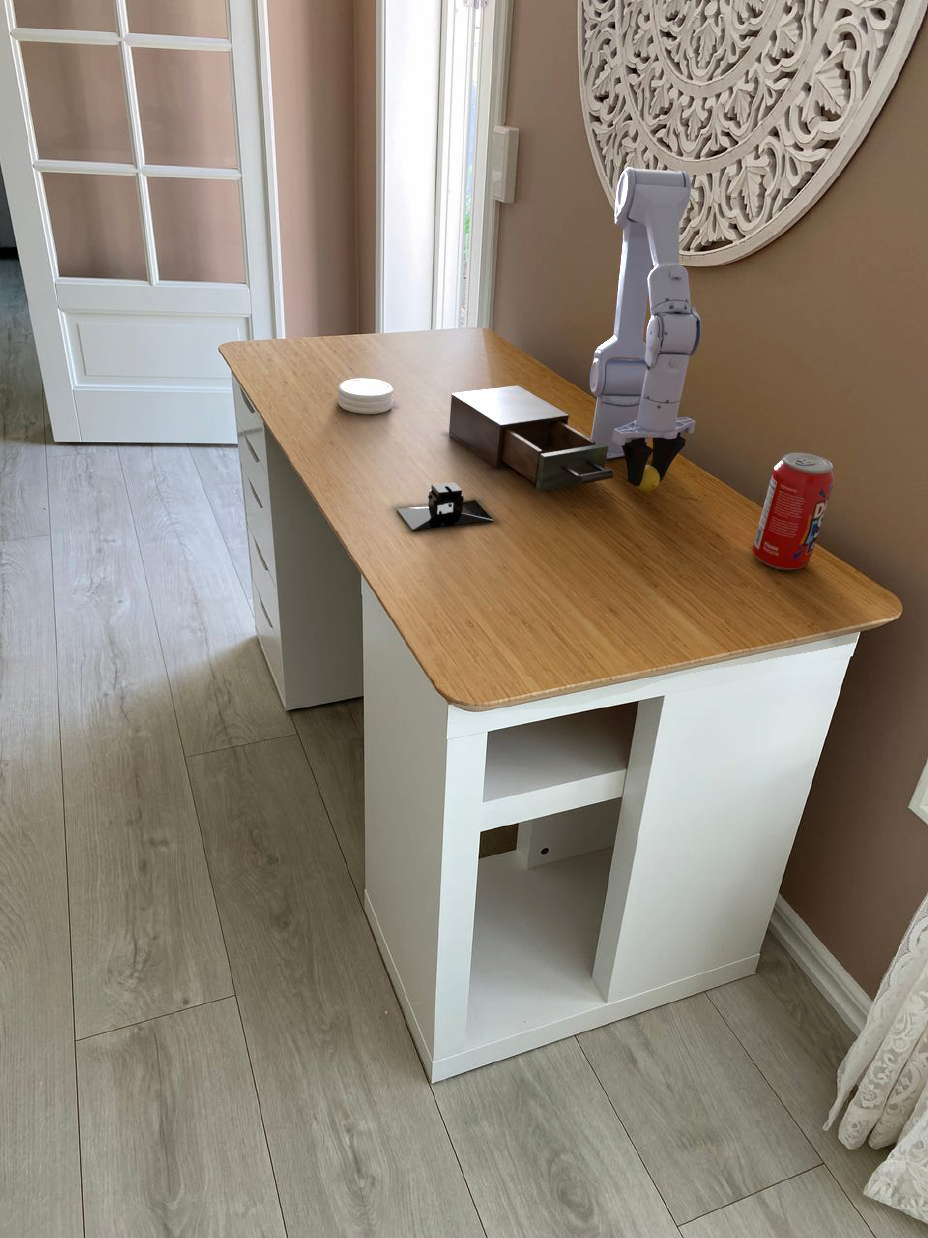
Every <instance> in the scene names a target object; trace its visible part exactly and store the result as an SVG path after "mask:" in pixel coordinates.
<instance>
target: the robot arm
mask: <svg viewBox="0 0 928 1238" xmlns="http://www.w3.org/2000/svg"><path fill="white" fill-rule="evenodd" d="M691 191H692V181H691V177H690V176H689V173H688V172H687V170H679V171H678V170H677V171H674V170H661V169H647V168H634V167H633V166H628V167H626V168H625V169H624V170H623V172H622V173H621V175H620V178H619V180H618V183H617V188H616V197H615V209H614V225H616V226H617V227H618V228H620V229H622V251H621V261H620V268H619V269H620V271H619V278H618V279H619V280H618V289H617V299H616V309H615V317H614V325H613V326H614V327H613V335H612V337H611V338H609V339H608V340H607V341H605V342H603V344H601V345H599V346H598V347H597V348H596V349H595V351H594V355H593V360H592V364H591V367H590V374H589V387H590V391H591V393H592V394H593V396H594V397H596V404H595V410H594V414H593V415H594V416H593V423H592V427H591V428H592V430H591V434H590V437H589V438H590V439H592V440H593V441H595V442H596V444H595V445H597V444H603V443H604V444H606V445H608V452H607V458H606V460H609V459H615V458H620V457H624V459H625V465H626V472H627V473H626V474H627V475H626V476H627V483H629V484H630V485H632V486H634V487H635V486H639V485H640V483H641V481H642V477H643V473H644V468H645V465H646V464H647V463H648V460H649V458H650V457H651V462H650V466H652V467H654V468H655V469H656V470H657V471H658V473H659V475H660V482H659V483H661V482H662V481H663V480H664V477H665V476H666V473H668V470H669V468H670V466H671V464H672V463H673V461H674V459H675V458H676V456H677V455H678V454H679V453H680V451H681V450H683V448H684V447H685V446H686V442H687V441H686V439H685V438H684V437H683V436H681V434H684V433H686V434H687V435H690V434H694V432H695V427H696V423H697V421H696V420H694V419H693V418H690V417H688V416H685V417H684V416H683V417H678V415H679V409H680V404H681V401H682V395H683V391H684V386H685V382H686V376H687V370H688V367H689V366H688V365H689V362H690V356H694V355H695V354H696V353H697V351H698V349H699V347H700V343H701V337H702V319H701V317H700V315H699V313H698V312H697V308H696V307H695V306H692V300H691V289H690V279H689V271H688V270H687V268H686V267H685V266H684V265H682V264H681V263H680V222H681V221H682V219H683V217H684V215H685V212H686V210H687V208H688V205H689V203H690V200H691V199H690V198H691V193H692V192H691ZM652 265H653V269H652ZM648 301H649V311H650V319H649V322H648V325H647V328H646V336H645V341H646V342H645V341H644V340H643V339H644V331H645V323H646V314H647V307H648ZM627 358H631V359H627ZM649 439H652V447H651V446H649V445H648V440H649ZM651 454H652V456H651Z"/></svg>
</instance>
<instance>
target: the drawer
mask: <svg viewBox="0 0 928 1238" xmlns="http://www.w3.org/2000/svg"><path fill="white" fill-rule="evenodd" d="M590 438H591V437H589V436H587V435H585V434H583V433H582V432H580V431H579V430H577V429H575V428H574V427H572V426H570V425H566V424H565V423H563V422H561V421H560V420H558V421H552V422H545V423H538V424H532V425H525V426H518V427H512V428H505V429H503V439H502V449H501V458H500V459H501V460H502V461H504V462H505V463H506V464H508V465H509V466H508V467H511V468H512V469H514V470H515V471H517V472H518V473H519V474H520V475H522V476H524V478H526V479H528V480H529V481H530V482H532V483H534V484H535V486H536V487H535V489H536V490H537V491H539V492H545V491H550V490H556V489H561V488H566V487H570V486H576V485H584V484H589V483H595V482H600V481H604V480H605V481H606V480H610V479H613V478H614V474H615V473H614V470H613V469H611V468H609V469H606V464H607V459H606V458H607V452H608V445H606V444H604V443H603V444H597V445H595V444H596V442H595V441H593V440H592V439H590Z"/></svg>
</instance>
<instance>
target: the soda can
mask: <svg viewBox="0 0 928 1238" xmlns="http://www.w3.org/2000/svg"><path fill="white" fill-rule="evenodd" d="M833 468H834V465H833V463H832V462H830V460H828V459H827V458H824V457H822V456H819V455H816V454H813V453H808V452H801V451H799V452H798V451H792V452H791V451H790V452H787V453H784V454H783V455H782V457H781V460H780V461H779V462H778V463H776V464H775V465H774V467H773V470H772V473H771V477H770V481H769V485H768V489H767V492H766V496H765V500H764V502H763V503H764V504H763V507H762V511H761V514H760V518H759V521H758V526H757V529H756V532H755V537H754V541H753V544H752V554H753V555H754V556H755V558H756V559H757V560H758V561H760V562H761V563H762V564H763V565H766V566H768V567H770V568H773V569H775V570H780V571H794V570H799V569H802V568H805V567H806V566H808V564H809V563H810V560H811V558H812V555H813V551H814V548H815V545H816V542H817V538H818V535H819V533H820V529H821V526H822V523H823V518H824V516H825V513H826V510H827V507H828V503H829V500H830V497H831V494H832V491H833V488H834V484H835V475H834V473H833Z"/></svg>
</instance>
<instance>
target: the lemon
mask: <svg viewBox="0 0 928 1238" xmlns="http://www.w3.org/2000/svg"><path fill="white" fill-rule="evenodd" d="M660 483H661V482H660V475H659V473H658V471H657V470H656V469H655V468H654V467H652V466H651V464H647V463H646V465H645V468H644V473H643V477H642V481H641V483H640V485H639V486H634V488H636V489H637V490H638V491H641V492H643V493H644V492H645V493H649V492H652V491H655V490H656V488H657V487H658V486H659V485H660Z"/></svg>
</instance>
